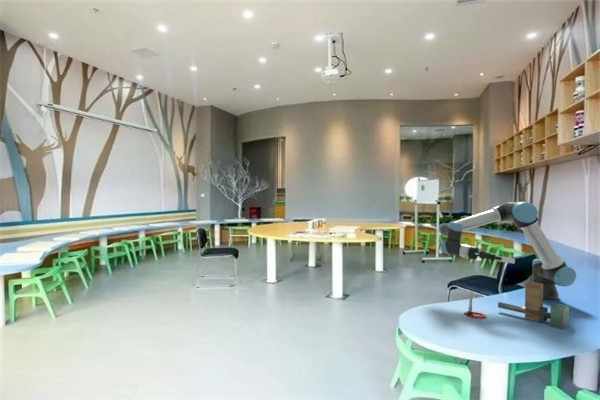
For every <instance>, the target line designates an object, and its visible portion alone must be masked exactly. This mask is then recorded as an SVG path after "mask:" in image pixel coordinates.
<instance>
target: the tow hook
mask: <svg viewBox="0 0 600 400" xmlns="http://www.w3.org/2000/svg"><path fill="white" fill-rule="evenodd" d="M468 300H469V303H468V310H467V312H466V311H464V312H463V314H464V315H465V316H467V317H470V318H471V319H474V320H475V319H486V318H487V315H486V314H485V313H482V312H479V311H473V291H472V290H471V291H470V294H469V299H468Z"/></svg>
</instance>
